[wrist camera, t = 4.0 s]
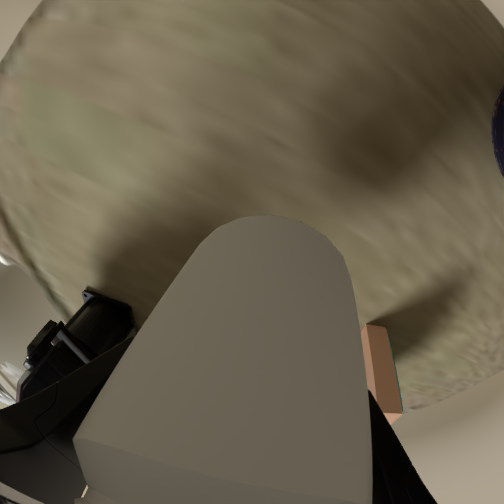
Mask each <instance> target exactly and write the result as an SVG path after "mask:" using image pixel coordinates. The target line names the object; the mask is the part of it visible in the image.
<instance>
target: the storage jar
mask: <svg viewBox="0 0 504 504" xmlns="http://www.w3.org/2000/svg"><path fill="white" fill-rule="evenodd" d="M492 142H493V148H494V154H495V157H496V161H497V164H498V167H499V169H500V172H501V173H502V175H503V177H504V87H503V88H502V89H501V90H500V92H499V94H498V96H497V99H496V102H495V105H494V109H493V115H492Z"/></svg>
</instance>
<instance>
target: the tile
mask: <svg viewBox="0 0 504 504" xmlns="http://www.w3.org/2000/svg"><path fill="white" fill-rule="evenodd" d="M361 339H362V346H363V354H364V361H365V369H366V378H367V388H368V390H370V391H371V393H372V395H373V396H374V398H375V400H376V401H377V403H378V405H379V406H380V408H381V410H382V412H383V413H384V415H385V417H386V418H387V420H388V422H389V424H390V425H391V424H392V423H393V422H394V421H395V420H396V419H397V418H398V417H400V416H401V415H402V412H403V406H402V400H401V394H400V388H399V383H398V377H397V372H396V367H395V362H394V357H393V353H392V348H391V344H390V339H389V335H387V331H386V327H381V326H375V325H370V324H366V325H365V326H364V328H363V330H362V332H361Z"/></svg>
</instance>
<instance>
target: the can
mask: <svg viewBox="0 0 504 504" xmlns="http://www.w3.org/2000/svg"><path fill="white" fill-rule="evenodd" d="M72 440H73V443H74V447H75V450H76V454H77V457H78V460H79V463H80V466H81V469H82V472H83V475H84V478H85V480H86V483H87V485H88V490H87V491H86V494H85V495H84V497H83V498H75V500H74V503H75V504H372V484H373V479H372V440H371V423H370V409H369V398H368V388H367V378H366V369H365V361H364V354H363V346H362V339H361V333H360V326H359V320H358V314H357V308H356V302H355V297H354V292H353V286H352V281H351V277H350V274H349V272H348V269H347V266H346V263H345V260H344V258H343V256H342V255H341V253H340V252H339V251H338V250H337V249H336V247H335V246H334V245H333V244H332V243H331V242H330V240H329V239H328V238H327V237H326V236H325V235H323V234H321V233H320V232H318V231H316V230H315V229H313V228H311V227H310V226H308V225H306V224H304V223H303V222H301V221H297V220H293V219H288V218H284V217H280V216H275V215H259V216H246V217H241V218H238V219H236V220H233V221H231V222H229V223H226V224H224V225H221V226H219V227H217V228H216V229H215V230H214V231H213V232H212V233H211V234H210V235H208V236H207V237H206V238H205V239H204V240H203V241H202V242H201V243H200V244H199V245H198V247H197V248H196V250H195V251H194V252H193V254H192V255H191V257H190V258H189V259H188V261H187V262H186V263H185V265H184V266H183V268H182V269H181V271H180V272H179V273H178V275H177V276H176V278H175V279H174V280H173V282H172V283H171V285H170V286H169V288H168V289H167V290H166V292H165V293H164V295H163V296H162V298H161V299H160V301H159V302H158V304H157V305H156V306H155V308H154V309H153V311H152V312H151V314H150V315H149V317H148V318H147V320H146V321H145V323H144V324H143V326H142V327H141V329H140V330H139V332H138V333H137V335H136V336H135V338H134V339H133V341H132V343H131V344H130V346H129V347H128V349H127V350H126V352H125V353H124V355H123V356H122V358H121V360H120V361H119V363H118V364H117V366H116V367H115V369H114V371H113V372H112V374H111V375H110V377H109V379H108V380H107V382H106V383H105V385H104V387H103V388H102V390H101V392H100V393H99V395H98V397H97V398H96V400H95V402H94V403H93V405H92V407H91V408H90V410H89V412H88V413H87V415H86V417H85V418H84V420H83V422H82V424H81V425H80V427H79V429H78V431H77V432H76V434H75V436H74V438H73V439H72Z"/></svg>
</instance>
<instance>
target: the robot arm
mask: <svg viewBox="0 0 504 504" xmlns="http://www.w3.org/2000/svg"><path fill="white" fill-rule="evenodd" d="M82 296H83V300H84V305H83V306H82V307H81V308H80V309H79V310H78V311H77V312H76V314H75V315H74V316H73V317H72V318H71V319H70V320H69V321H68V323H67V324H66V325H65V326H64V323H63V322H62V321H60V322H59V323H56V322H54V321H52V320H50V321H49V322H48V323H47V324H46V325H45V326H44V327H43V329H42V330H41V331H40V332H39V333H38V334H37V335H36V337H35V338H34V339H33V340H32V342H31V343H30V344H29V345H28V347H27V356H26V360H25V362H24V363H23V365H24V366H25V368H26V369H27V370H26V371H25V372H24V374H23V375H22V376H21V378H20V379H19V380H18V383H17V395H16V403H15V404H13V405H10V406H9V407H6V408H3V409H0V504H75V503H74V500H75V498H81V496H82V494H83V491H84V490H85V487H86V485H87V483H86V480H85V478H84V475H83V472H82V469H81V466H80V463H79V460H78V457H77V454H76V450H75V447H74V443H73V440H72V439H73V438H74V436H75V434H76V432H77V431H78V429H79V427H80V425H81V424H82V422H83V420H84V418H85V417H86V415H87V413H88V412H89V410H90V408H91V407H92V405H93V403H94V402H95V400H96V398H97V397H98V395H99V393H100V392H101V390H102V388H103V387H104V385H105V383H106V382H107V380H108V379H109V377H110V375H111V374H112V372H113V371H114V369H115V367H116V366H117V364H118V363H119V361H120V360H121V358H122V356H123V355H124V353H125V352H126V350H127V349H128V347H129V346H130V344H131V343H132V341H133V339H134V338H135V336H136V330H135V326H134V321H133V314H132V309H131V307H130V306H128V305H126V304H123V303H120V302H118V301H115V300H112V299H109V298H107V297H104V296H101V295H99V294H96V293H93V292H91V291H88V290H84V291H83V292H82ZM51 342H52V343H53V344H54V346H53V345H52V344H51ZM368 398H369V409H370V423H371V440H372V479H373V484H372V504H437V502H436V501H435V499H434V498H433V497H432V495H431V494H430V492H429V491H428V489H427V488H426V486H425V485H424V484H423V482H422V480H421V478H420V477H419V475H418V473H417V471H416V470H415V468H414V466H413V465H412V463H411V461H410V459H409V457H408V456H407V454H406V452H405V450H404V449H403V446H402V445H401V443H400V441H399V440H398V438H397V436H396V434H395V432H394V431H393V429H392V427H391V425H390V424H389V422H388V420H387V418H386V417H385V415H384V413H383V412H382V410H381V408H380V406H379V405H378V403H377V401H376V400H375V398H374V396H373V395H372V393H371V391H370V390H368Z"/></svg>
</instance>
